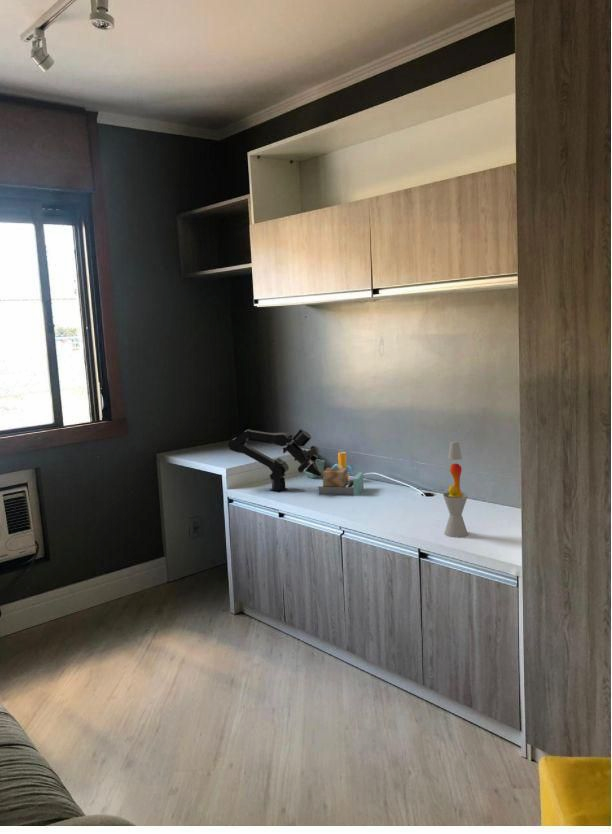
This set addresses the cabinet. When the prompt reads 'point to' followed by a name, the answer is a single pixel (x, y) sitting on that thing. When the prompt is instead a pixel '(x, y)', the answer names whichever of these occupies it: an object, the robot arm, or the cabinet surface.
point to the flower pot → (320, 466)
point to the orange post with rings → (343, 463)
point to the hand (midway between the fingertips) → (320, 475)
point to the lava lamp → (455, 497)
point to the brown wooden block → (335, 477)
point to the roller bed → (338, 489)
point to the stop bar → (358, 483)
